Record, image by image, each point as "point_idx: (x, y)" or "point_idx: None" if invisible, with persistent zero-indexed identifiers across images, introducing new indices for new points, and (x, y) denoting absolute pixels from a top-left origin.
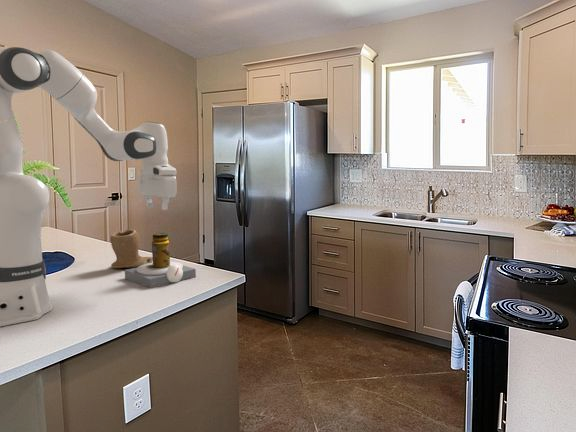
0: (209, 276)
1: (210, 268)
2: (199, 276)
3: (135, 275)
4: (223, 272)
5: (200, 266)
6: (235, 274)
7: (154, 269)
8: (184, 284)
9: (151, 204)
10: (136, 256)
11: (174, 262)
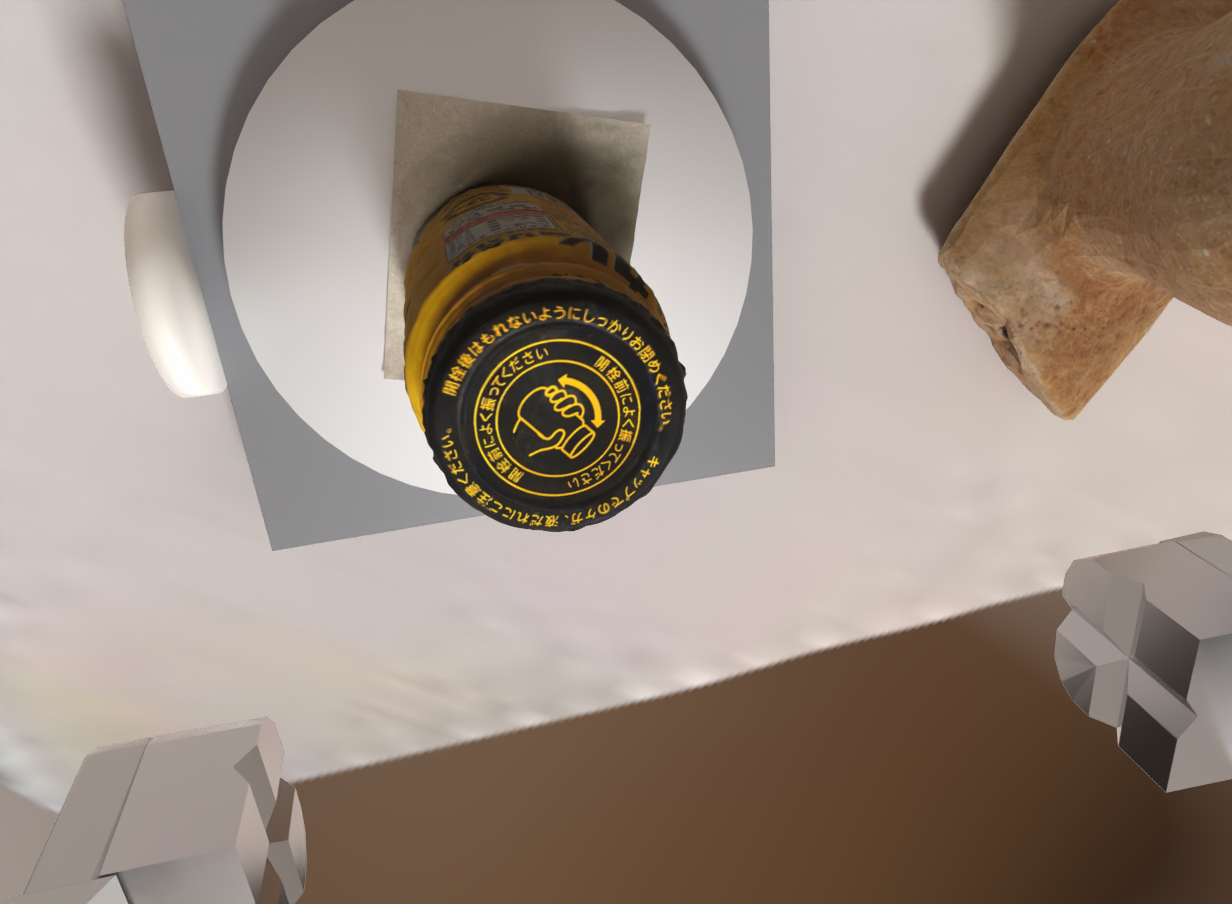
0: (224, 612)
1: (489, 716)
2: None
3: None
4: None
5: (614, 677)
6: None
7: (398, 145)
8: (73, 317)
9: (1141, 695)
10: (1079, 225)
11: None
